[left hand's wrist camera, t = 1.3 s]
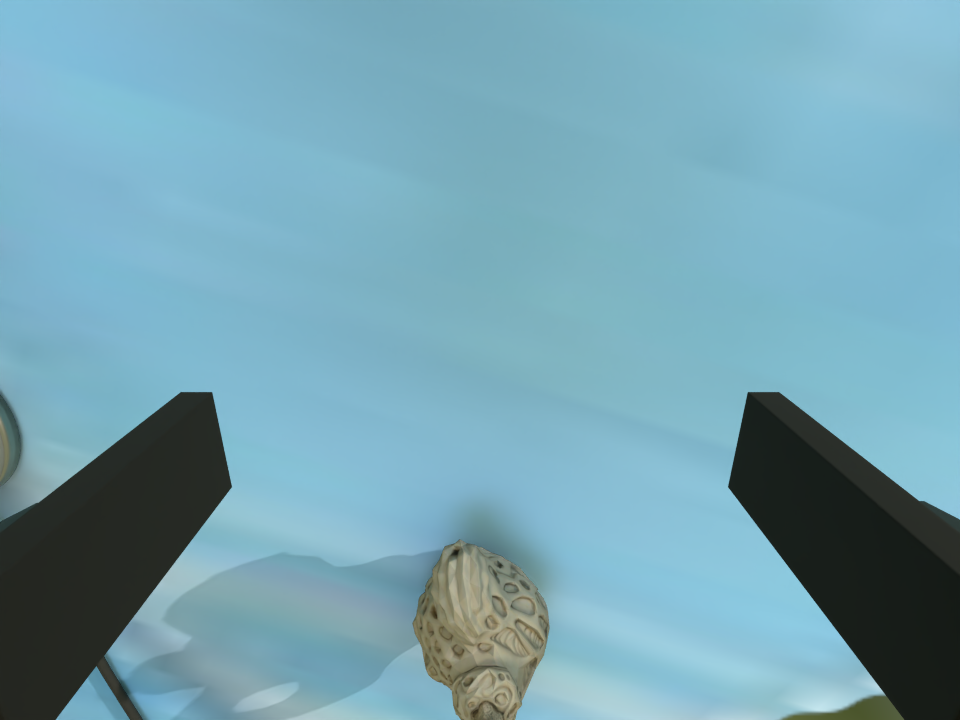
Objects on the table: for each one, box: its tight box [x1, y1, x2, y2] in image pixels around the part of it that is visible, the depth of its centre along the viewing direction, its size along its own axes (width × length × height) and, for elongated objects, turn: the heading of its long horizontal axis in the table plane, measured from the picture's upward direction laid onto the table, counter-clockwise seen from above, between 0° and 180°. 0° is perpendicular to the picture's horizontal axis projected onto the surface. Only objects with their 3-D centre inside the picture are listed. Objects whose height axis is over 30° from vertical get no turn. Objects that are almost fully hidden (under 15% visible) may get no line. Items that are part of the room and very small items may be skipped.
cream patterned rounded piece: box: [413, 540, 549, 720], centre depth 43 cm, size 21×12×15 cm, turn 9°
